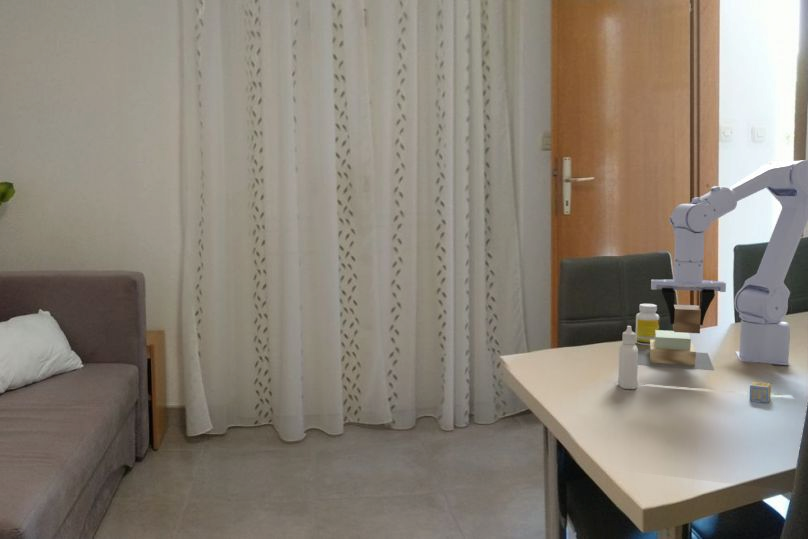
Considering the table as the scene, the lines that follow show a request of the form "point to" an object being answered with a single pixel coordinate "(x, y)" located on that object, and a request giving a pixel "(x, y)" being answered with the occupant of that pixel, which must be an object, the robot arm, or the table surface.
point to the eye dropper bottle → (628, 360)
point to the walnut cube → (687, 318)
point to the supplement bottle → (646, 324)
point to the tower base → (672, 355)
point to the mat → (700, 363)
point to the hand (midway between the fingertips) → (686, 323)
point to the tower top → (672, 340)
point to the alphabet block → (760, 392)
